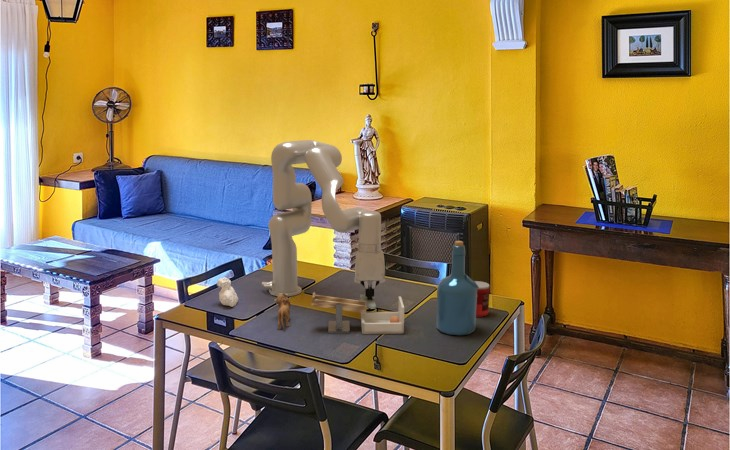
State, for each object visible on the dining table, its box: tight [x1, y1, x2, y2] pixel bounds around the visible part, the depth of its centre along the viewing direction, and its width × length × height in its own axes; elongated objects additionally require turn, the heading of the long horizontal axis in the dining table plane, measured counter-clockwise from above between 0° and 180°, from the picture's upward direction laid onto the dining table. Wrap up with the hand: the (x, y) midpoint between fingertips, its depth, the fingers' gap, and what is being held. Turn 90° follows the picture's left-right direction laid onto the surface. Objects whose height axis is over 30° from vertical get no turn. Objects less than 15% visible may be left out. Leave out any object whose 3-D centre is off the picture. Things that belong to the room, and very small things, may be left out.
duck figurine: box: [216, 276, 239, 307], centre depth 221 cm, size 12×8×11 cm
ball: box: [390, 316, 399, 323], centre depth 199 cm, size 3×3×3 cm
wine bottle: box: [435, 240, 479, 336], centre depth 196 cm, size 14×13×30 cm
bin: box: [360, 296, 405, 335], centre depth 199 cm, size 14×11×9 cm
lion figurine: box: [273, 293, 291, 331], centre depth 202 cm, size 15×5×9 cm, turn 13°
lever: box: [310, 291, 377, 313], centre depth 203 cm, size 22×16×3 cm
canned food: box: [473, 280, 490, 318], centre depth 212 cm, size 8×8×11 cm
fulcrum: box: [327, 304, 351, 334], centre depth 198 cm, size 7×9×9 cm
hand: (369, 298), depth 208 cm, fingers closed
